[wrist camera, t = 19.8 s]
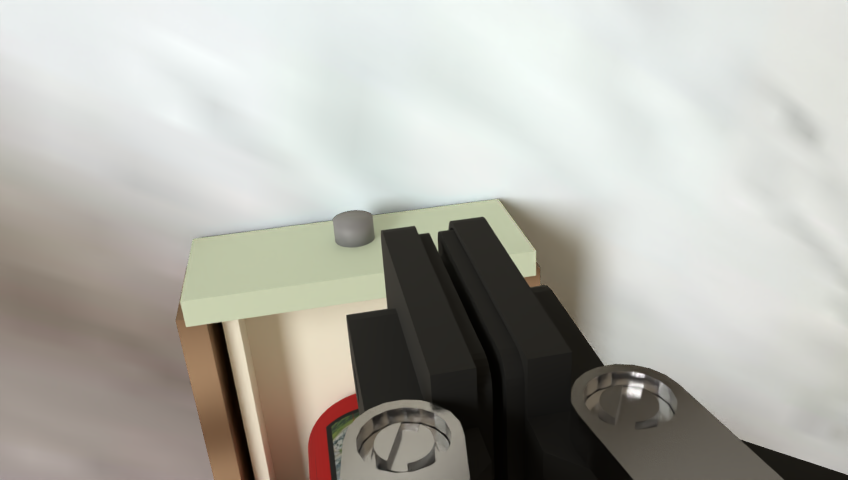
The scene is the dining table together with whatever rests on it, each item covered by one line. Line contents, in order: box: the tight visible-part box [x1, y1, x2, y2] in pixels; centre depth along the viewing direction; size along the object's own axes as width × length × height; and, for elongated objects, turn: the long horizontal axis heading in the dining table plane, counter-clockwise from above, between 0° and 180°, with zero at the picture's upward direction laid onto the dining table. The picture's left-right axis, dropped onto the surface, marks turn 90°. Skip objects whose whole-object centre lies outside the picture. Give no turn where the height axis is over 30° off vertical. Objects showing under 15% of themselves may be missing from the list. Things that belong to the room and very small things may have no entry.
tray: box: [180, 199, 536, 480], centre depth 37 cm, size 19×15×6 cm
